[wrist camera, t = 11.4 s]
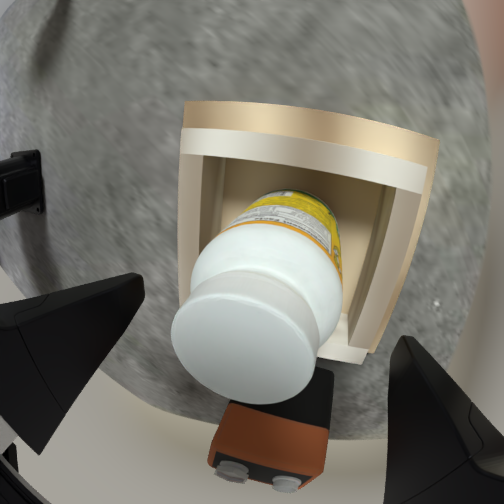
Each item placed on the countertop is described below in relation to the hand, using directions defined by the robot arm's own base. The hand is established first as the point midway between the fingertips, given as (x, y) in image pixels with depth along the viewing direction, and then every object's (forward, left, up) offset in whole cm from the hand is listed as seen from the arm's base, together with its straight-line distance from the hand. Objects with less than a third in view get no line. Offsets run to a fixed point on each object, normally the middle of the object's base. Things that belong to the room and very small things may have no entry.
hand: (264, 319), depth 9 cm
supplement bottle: (0, 0, -8) cm, 8 cm away
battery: (+1, -12, -9) cm, 15 cm away
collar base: (0, 0, -9) cm, 9 cm away
